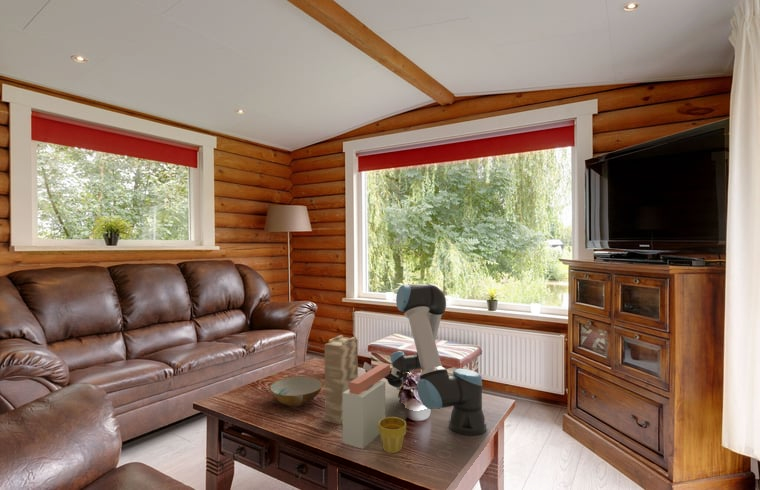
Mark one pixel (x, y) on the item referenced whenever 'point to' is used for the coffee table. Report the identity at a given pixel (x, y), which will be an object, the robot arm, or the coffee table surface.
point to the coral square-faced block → (369, 378)
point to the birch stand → (339, 374)
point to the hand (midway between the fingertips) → (378, 367)
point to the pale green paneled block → (363, 415)
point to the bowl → (296, 390)
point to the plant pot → (392, 433)
